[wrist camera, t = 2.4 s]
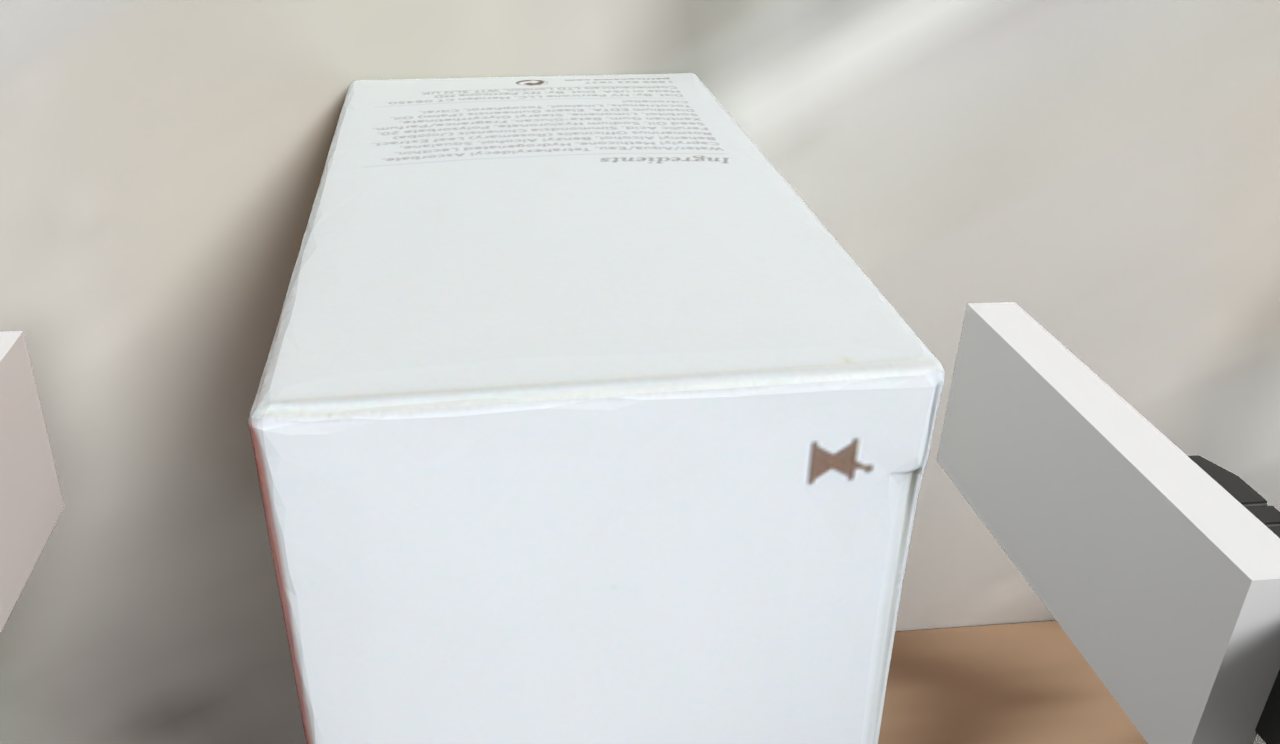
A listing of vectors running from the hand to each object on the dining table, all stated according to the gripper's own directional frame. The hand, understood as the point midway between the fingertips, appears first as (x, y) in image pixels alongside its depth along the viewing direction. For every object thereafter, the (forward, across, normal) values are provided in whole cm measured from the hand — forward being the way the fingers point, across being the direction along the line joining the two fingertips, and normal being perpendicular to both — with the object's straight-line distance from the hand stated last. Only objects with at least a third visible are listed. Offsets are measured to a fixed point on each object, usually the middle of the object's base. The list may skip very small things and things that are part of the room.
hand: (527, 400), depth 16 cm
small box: (+4, 0, 0) cm, 4 cm away
